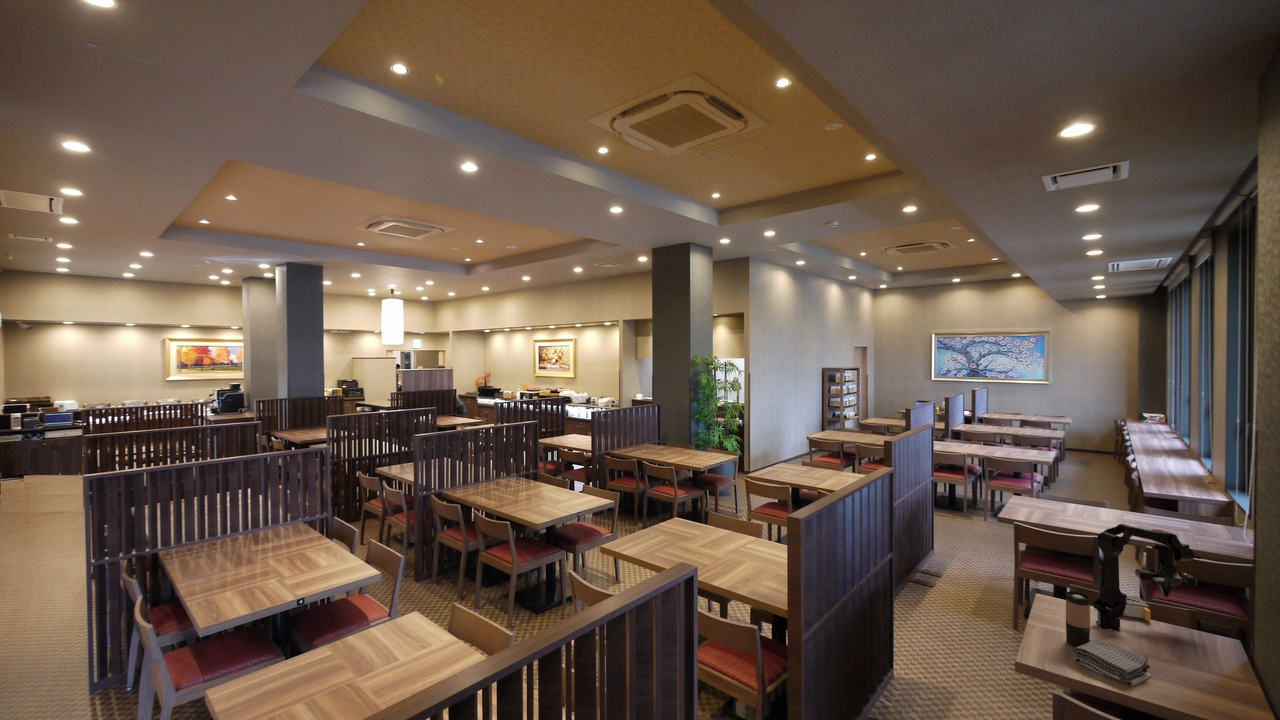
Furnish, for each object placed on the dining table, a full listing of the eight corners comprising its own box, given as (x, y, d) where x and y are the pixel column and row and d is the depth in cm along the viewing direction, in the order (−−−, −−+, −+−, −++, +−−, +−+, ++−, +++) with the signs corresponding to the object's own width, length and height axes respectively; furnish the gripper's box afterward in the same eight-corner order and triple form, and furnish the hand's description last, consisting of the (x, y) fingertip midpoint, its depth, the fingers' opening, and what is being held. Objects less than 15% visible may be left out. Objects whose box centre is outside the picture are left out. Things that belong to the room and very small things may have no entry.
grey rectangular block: (1127, 618, 240) (1127, 607, 240) (1123, 614, 243) (1123, 603, 243) (1150, 621, 237) (1150, 610, 237) (1146, 617, 240) (1146, 607, 240)
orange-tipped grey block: (1105, 613, 246) (1105, 598, 246) (1097, 604, 255) (1097, 590, 255) (1148, 619, 240) (1148, 604, 240) (1138, 610, 249) (1138, 595, 249)
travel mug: (1081, 640, 222) (1081, 591, 222) (1095, 650, 215) (1095, 599, 215) (1061, 639, 223) (1061, 590, 223) (1074, 649, 216) (1074, 599, 215)
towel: (1094, 654, 213) (1094, 634, 213) (1154, 679, 196) (1154, 657, 196) (1071, 663, 206) (1071, 642, 206) (1131, 690, 190) (1131, 667, 190)
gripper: (1146, 564, 231) (1146, 600, 231) (1204, 570, 224) (1204, 608, 224) (1134, 555, 242) (1134, 590, 242) (1189, 561, 234) (1189, 597, 235)
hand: (1165, 596), depth 235 cm, fingers closed
